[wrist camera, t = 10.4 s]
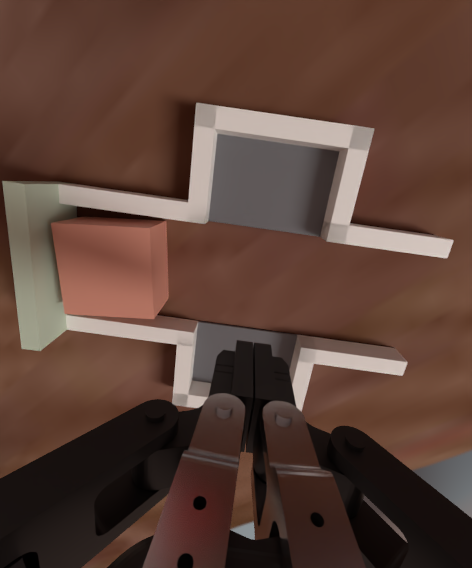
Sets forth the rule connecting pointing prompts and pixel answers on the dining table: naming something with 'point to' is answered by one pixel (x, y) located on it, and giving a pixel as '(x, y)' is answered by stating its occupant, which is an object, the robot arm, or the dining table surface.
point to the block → (112, 266)
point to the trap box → (225, 209)
